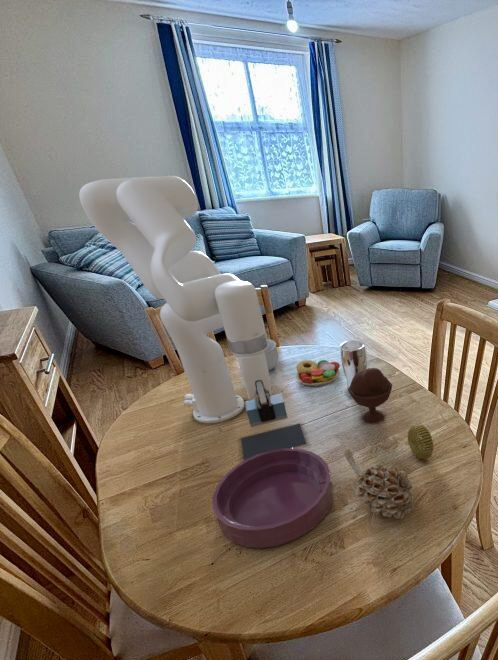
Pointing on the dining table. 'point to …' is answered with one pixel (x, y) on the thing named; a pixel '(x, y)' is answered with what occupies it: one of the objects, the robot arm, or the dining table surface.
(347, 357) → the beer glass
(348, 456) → the pine cone
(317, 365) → the toy food set
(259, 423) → the block
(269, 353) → the teacup
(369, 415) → the ice cream bowl
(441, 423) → the dining table surface
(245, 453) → the rubber mat
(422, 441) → the sculpture
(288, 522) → the serving bowl
